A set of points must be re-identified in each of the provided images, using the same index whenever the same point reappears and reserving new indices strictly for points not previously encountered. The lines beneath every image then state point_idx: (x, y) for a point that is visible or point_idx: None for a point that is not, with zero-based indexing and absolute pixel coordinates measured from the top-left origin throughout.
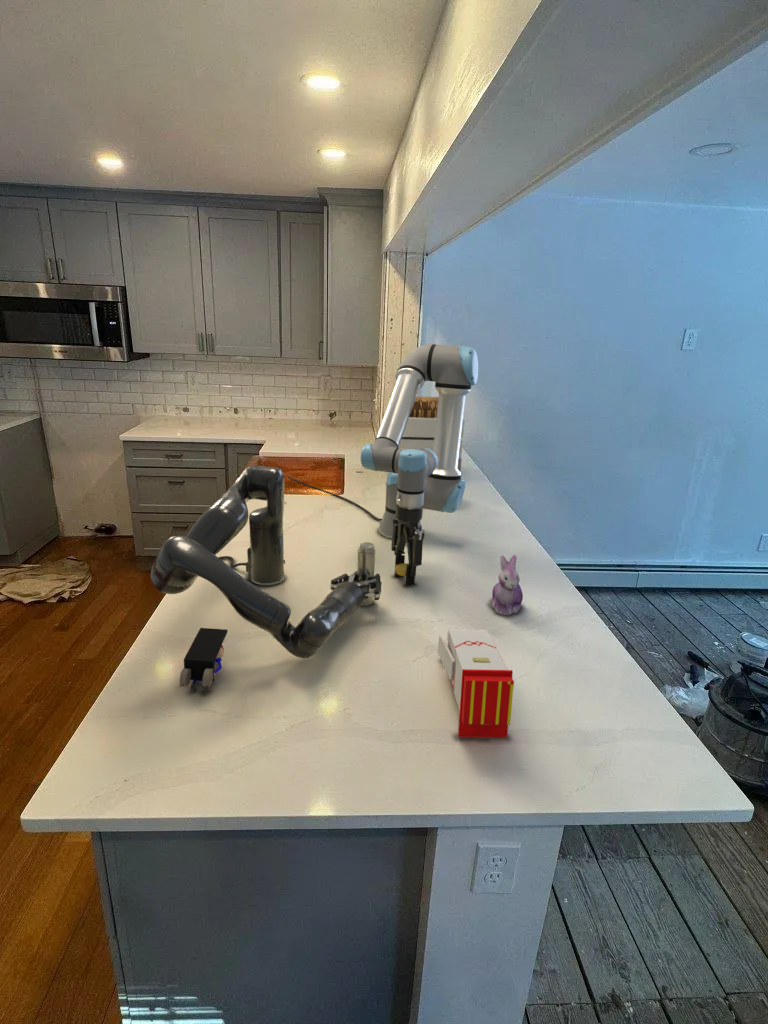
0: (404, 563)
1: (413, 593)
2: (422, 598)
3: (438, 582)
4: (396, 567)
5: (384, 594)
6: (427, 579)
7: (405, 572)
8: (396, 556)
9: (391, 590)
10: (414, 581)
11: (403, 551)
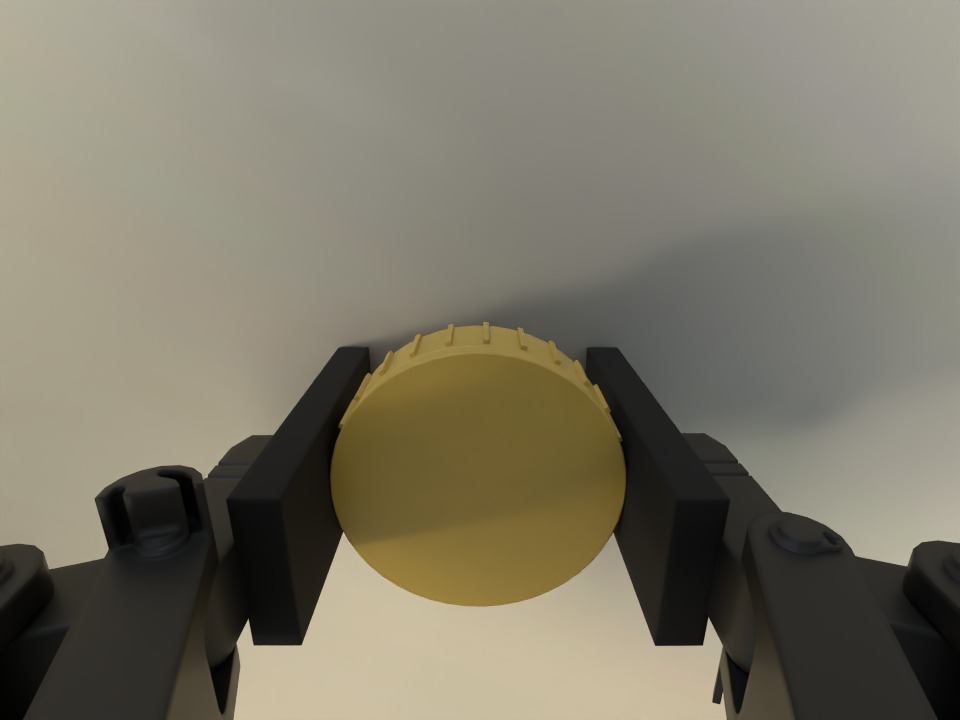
0: (350, 439)
1: (766, 450)
2: (901, 425)
3: (725, 12)
4: (439, 595)
5: (634, 659)
6: (575, 114)
7: (599, 537)
8: (268, 639)
9: (602, 588)
10: (627, 366)
11: (204, 577)
